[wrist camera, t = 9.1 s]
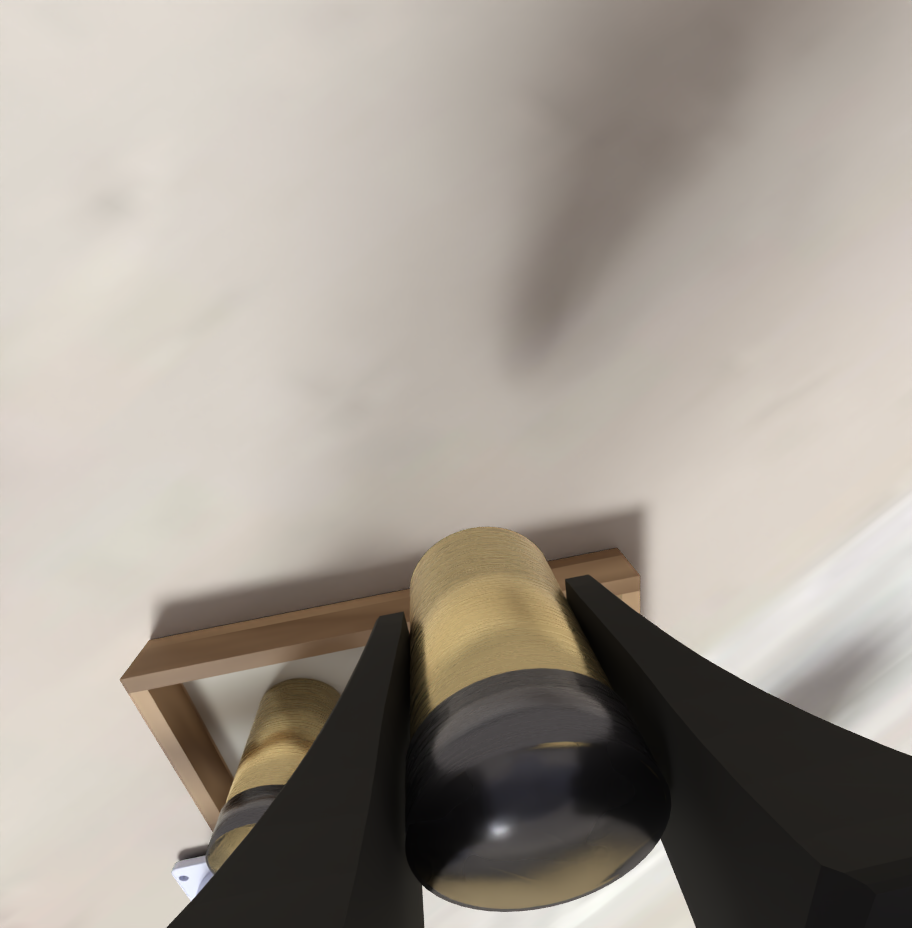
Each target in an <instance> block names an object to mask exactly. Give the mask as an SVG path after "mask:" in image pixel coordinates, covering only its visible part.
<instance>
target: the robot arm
mask: <svg viewBox="0 0 912 928" xmlns="http://www.w3.org/2000/svg"><path fill="white" fill-rule="evenodd" d="M565 587H566V599H567V601H568V603H569V605H570V607H571V609H572V611H573V613H574V615H575V617H576V619H577V621H578V623H579V625H580V627H581V629H582V630H583V632H584V634H585V636H586V638H587V640H588V642H589V644H590V646H591V648H592V650H593V652H594V654H595V656H596V658H597V660H598V661H599V663H600V665H601V667H602V669H603V671H604V673H605V675H606V677H607V679H608V681H609V683H610V685H611V687H612V689H613V690H614V692H615V693H616V694H618V695H619V697H620V698H621V699H622V700H623V702H624V703H625V704H626V706H627V708H628V710H629V712H630V713H631V715H632V717H633V719H634V721H635V723H636V725H637V727H638V729H639V731H640V732H641V734H642V736H643V738H644V740H645V742H646V744H647V746H648V748H649V749H650V751H651V753H652V755H653V757H654V759H655V761H656V763H657V765H658V766H659V768H660V770H661V772H662V774H663V776H664V778H665V780H666V782H667V783H668V787H669V790H670V794H671V812H670V817H669V820H668V824H667V827H666V829H665V831H664V833H663V835H662V837H661V841H662V843H663V846H664V848H665V851H666V853H667V856H668V858H669V861H670V863H671V866H672V868H673V870H674V873H675V875H676V878H677V880H678V883H679V885H680V888H681V890H682V893H683V895H684V898H685V900H686V903H687V905H688V908H689V911H690V913H691V916H692V918H693V921H694V923H695V926H696V928H912V756H910V755H908V754H905V753H902V752H899V751H897V750H894V749H892V748H889V747H887V746H884V745H882V744H879V743H877V742H874V741H872V740H870V739H867V738H865V737H862V736H860V735H858V734H855V733H853V732H851V731H848V730H846V729H843V728H841V727H839V726H836V725H834V724H832V723H830V722H827V721H825V720H823V719H821V718H818V717H816V716H814V715H812V714H810V713H807V712H805V711H803V710H801V709H799V708H797V707H795V706H793V705H791V704H789V703H787V702H785V701H783V700H781V699H779V698H777V697H774V696H772V695H770V694H768V693H766V692H764V691H763V690H761V689H759V688H757V687H755V686H753V685H751V684H749V683H747V682H745V681H744V680H742V679H740V678H738V677H737V676H735V675H733V674H731V673H729V672H728V671H726V670H724V669H722V668H721V667H719V666H717V665H715V664H714V663H712V662H710V661H709V660H707V659H705V658H704V657H702V656H700V655H699V654H697V653H696V652H694V651H692V650H691V649H689V648H688V647H686V646H685V645H683V644H682V643H680V642H679V641H677V640H676V639H674V638H673V637H671V636H670V635H668V634H667V633H665V632H664V631H663V630H661V629H660V628H658V627H657V626H656V625H654V624H653V623H652V622H650V621H649V620H647V619H646V618H645V617H643V616H642V615H640V614H639V613H638V612H636V611H635V610H634V609H632V608H631V607H630V606H629V605H627V604H626V603H625V602H623V601H622V600H621V599H620V598H618V597H617V596H616V595H614V594H613V593H612V592H611V591H609V590H608V589H607V588H606V587H604V586H603V585H602V584H601V583H599V582H598V581H597V580H596V579H594V578H593V577H592V576H590V575H589V574H588V575H583V576H578V577H573V578H568V579H565ZM409 744H410V634H409V630H408V626H407V622H406V618H405V614H404V611H403V612H398V613H393V614H388V615H383V616H379V617H378V619H377V620H376V622H375V624H374V627H373V629H372V632H371V634H370V636H369V639H368V641H367V643H366V646H365V648H364V650H363V652H362V654H361V656H360V659H359V661H358V663H357V665H356V667H355V669H354V671H353V673H352V675H351V677H350V679H349V681H348V683H347V685H346V687H345V689H344V691H343V692H342V694H341V696H340V698H339V700H338V701H337V703H336V705H335V707H334V708H333V710H332V712H331V714H330V715H329V717H328V719H327V721H326V722H325V724H324V726H323V728H322V729H321V731H320V733H319V734H318V736H317V737H316V739H315V741H314V742H313V744H312V745H311V747H310V749H309V750H308V752H307V753H306V755H305V756H304V758H303V759H302V761H301V762H300V764H299V765H298V767H297V768H296V770H295V771H294V773H293V774H292V776H291V777H290V778H289V780H288V781H287V783H286V784H285V785H284V787H283V788H282V789H281V791H280V792H279V794H278V795H277V796H276V798H275V799H274V800H273V802H272V803H271V805H270V806H269V807H268V809H267V810H266V811H265V813H264V814H263V815H262V817H261V818H260V819H259V820H258V822H257V823H256V824H255V826H254V827H253V828H252V829H251V831H250V832H249V833H248V834H247V836H246V837H245V838H244V839H243V840H242V842H241V843H240V844H239V845H238V847H237V848H236V849H235V850H234V851H233V853H232V854H231V855H230V856H229V857H228V859H227V860H226V861H225V862H224V863H223V865H222V866H221V867H220V868H219V869H218V871H217V872H216V873H215V874H213V873H212V872H211V871H210V870H209V868H208V866H207V863H206V858H205V857H206V855H204V856H199V857H195V858H190V859H185V860H181V861H178V862H176V863H175V865H174V867H173V869H172V875H173V876H174V878H175V879H176V881H177V882H178V883H179V885H180V886H181V888H182V889H183V891H184V892H185V893H186V895H187V896H188V898H189V899H190V900H191V902H190V903H189V904H188V905H187V906H186V907H185V908H184V910H183V911H182V912H181V913H180V914H179V915H178V916H177V917H176V918H175V919H174V920H173V921H172V922H171V923H170V924H169V926H168V927H167V928H424V913H423V895H422V884H421V883H420V882H419V881H418V880H417V879H416V877H415V876H414V875H413V873H412V871H411V869H410V867H409V865H408V863H407V858H406V854H405V768H406V755H407V750H408V747H409Z"/></svg>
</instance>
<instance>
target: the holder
mask: <svg viewBox="0 0 912 928" xmlns="http://www.w3.org/2000/svg"><path fill="white" fill-rule="evenodd" d="M547 563H548V565H549V567H550V568H551V570H552V572H553V574H554V576H555V578H556V580H557V582H558V584H559V586H560V588H561V590H562V592H563V594H564V596H565V598H566V587H565V579H568V578H573V577H578V576H583V575H588V574H589V575H590V576H592V577H593V578H594V579H596V580H597V581H598V582H599V583H601V584H602V585H603V586H604V587H606V588H607V589H608V590H609V591H611V592H612V593H613V594H614V595H616V596H617V597H618V598H620V599H621V600H622V601H623V602H625V603H626V604H627V605H629V606H630V607H631V608H632V609H634V610H635V611H636V612H638V613H639V614H640V575H639V574H638V572H637V571H636V570H635V569H634V568H633V566H632V565H631V564H630V563H629V561H628V560H627V559H626V558H625V557H624V555H623V554H622V553H621V552H620V551H619V549H618V548H614V549H609V550H604V551H599V552H593V553H588V554H583V555H578V556H573V557H568V558H563V559H558V560H553V561H548V562H547ZM403 611H404V614H405V618H406V622H407V626H408V630H409V634H410V589H406V590H401V591H396V592H391V593H386V594H381V595H376V596H371V597H365V598H360V599H355V600H350V601H345V602H340V603H335V604H330V605H325V606H320V607H315V608H310V609H305V610H300V611H295V612H289V613H284V614H279V615H274V616H269V617H264V618H259V619H254V620H249V621H244V622H239V623H234V624H229V625H224V626H219V627H213V628H208V629H203V630H198V631H193V632H188V633H183V634H178V635H173V636H168V637H163V638H158V639H153V640H149V641H148V642H147V644H146V645H145V646H144V648H143V649H142V650H141V652H140V653H139V654H138V656H137V657H136V658H135V660H134V661H133V662H132V664H131V665H130V667H129V668H128V669H127V671H126V672H125V673H124V675H123V676H122V677H121V679H120V681H121V683H122V684H123V686H124V688H125V689H126V691H127V693H128V694H129V696H130V698H131V699H132V701H133V702H134V704H135V706H136V707H137V709H138V711H139V712H140V714H141V716H142V717H143V719H144V720H145V722H146V724H147V725H148V727H149V729H150V730H151V732H152V733H153V735H154V737H155V738H156V740H157V742H158V743H159V745H160V747H161V748H162V750H163V751H164V753H165V755H166V756H167V758H168V760H169V761H170V763H171V765H172V766H173V768H174V769H175V771H176V773H177V774H178V776H179V778H180V779H181V781H182V783H183V784H184V786H185V787H186V789H187V791H188V792H189V794H190V796H191V797H192V799H193V801H194V802H195V804H196V805H197V807H198V809H199V810H200V812H201V814H202V815H203V817H204V819H205V820H206V822H207V823H208V825H209V827H210V828H211V830H212V832H213V831H214V828H215V825H216V823H217V820H218V817H219V814H220V811H221V809H222V808H223V806H224V805H225V803H226V800H227V797H228V794H229V792H230V789H231V786H232V783H233V780H234V777H235V774H236V771H237V768H238V765H239V763H240V760H241V757H242V754H243V751H244V748H245V745H246V742H247V739H248V736H249V733H250V731H251V728H252V725H253V722H254V719H255V716H256V713H257V710H258V707H259V704H260V702H261V699H262V697H263V696H264V694H265V693H266V692H267V691H268V690H269V689H270V688H272V687H273V686H275V685H277V684H278V683H281V682H283V681H287V680H291V679H313V680H318V681H321V682H324V683H326V684H328V685H330V686H331V687H333V688H334V689H335V690H336V691H337V692H338V693H339V694H340V695H341V694H342V692H343V691H344V689H345V687H346V685H347V683H348V681H349V679H350V677H351V675H352V673H353V671H354V669H355V667H356V665H357V663H358V661H359V659H360V656H361V654H362V652H363V650H364V648H365V646H366V643H367V641H368V639H369V636H370V634H371V632H372V629H373V627H374V624H375V622H376V620H377V619H378V617H379V616H383V615H388V614H393V613H398V612H403Z"/></svg>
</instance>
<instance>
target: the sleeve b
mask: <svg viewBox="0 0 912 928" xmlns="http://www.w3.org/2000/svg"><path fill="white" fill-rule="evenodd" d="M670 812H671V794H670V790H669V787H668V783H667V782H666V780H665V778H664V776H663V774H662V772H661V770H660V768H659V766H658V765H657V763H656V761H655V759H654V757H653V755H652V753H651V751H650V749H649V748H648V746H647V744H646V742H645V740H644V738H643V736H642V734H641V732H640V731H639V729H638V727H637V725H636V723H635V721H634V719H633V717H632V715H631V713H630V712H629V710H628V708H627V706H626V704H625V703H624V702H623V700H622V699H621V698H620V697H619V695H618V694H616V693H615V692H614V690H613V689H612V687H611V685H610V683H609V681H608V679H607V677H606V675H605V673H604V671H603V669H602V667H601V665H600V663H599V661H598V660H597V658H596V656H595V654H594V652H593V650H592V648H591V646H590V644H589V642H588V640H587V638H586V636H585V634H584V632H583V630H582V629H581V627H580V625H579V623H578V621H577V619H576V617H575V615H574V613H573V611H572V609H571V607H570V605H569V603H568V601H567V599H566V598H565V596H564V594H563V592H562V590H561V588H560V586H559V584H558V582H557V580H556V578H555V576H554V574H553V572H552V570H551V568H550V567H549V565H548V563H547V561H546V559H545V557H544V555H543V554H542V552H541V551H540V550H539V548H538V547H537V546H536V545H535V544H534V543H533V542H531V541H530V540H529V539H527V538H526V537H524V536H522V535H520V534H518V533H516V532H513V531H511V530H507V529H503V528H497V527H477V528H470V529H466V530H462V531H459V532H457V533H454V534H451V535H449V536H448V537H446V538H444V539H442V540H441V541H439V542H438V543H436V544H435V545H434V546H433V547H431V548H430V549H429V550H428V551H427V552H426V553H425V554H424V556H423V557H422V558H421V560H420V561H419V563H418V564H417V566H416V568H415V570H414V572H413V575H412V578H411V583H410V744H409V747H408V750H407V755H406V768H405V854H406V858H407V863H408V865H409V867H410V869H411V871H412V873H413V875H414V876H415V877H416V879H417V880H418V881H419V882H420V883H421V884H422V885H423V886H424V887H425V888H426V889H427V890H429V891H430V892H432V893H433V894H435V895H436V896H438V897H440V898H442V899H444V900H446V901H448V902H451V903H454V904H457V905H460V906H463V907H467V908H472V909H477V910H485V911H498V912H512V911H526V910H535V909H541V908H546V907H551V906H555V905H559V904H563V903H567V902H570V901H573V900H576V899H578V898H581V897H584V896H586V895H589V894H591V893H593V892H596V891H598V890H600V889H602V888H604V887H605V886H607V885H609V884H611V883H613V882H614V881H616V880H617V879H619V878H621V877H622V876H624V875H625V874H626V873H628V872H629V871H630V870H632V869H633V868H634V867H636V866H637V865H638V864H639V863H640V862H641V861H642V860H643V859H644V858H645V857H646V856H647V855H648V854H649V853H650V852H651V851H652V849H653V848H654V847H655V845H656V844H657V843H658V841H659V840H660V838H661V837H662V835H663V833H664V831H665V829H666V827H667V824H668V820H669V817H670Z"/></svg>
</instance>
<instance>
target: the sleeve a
mask: <svg viewBox="0 0 912 928" xmlns="http://www.w3.org/2000/svg"><path fill="white" fill-rule="evenodd" d="M340 696H341V695H340V694H339V693H338V692H337V691H336V690H335V689H334V688H333V687H331V686H330V685H328V684H326V683H324V682H321V681H318V680H313V679H291V680H287V681H283V682H281V683H278V684H277V685H275V686H273V687H272V688H270V689H269V690H268V691H267V692H266V693H265V694H264V696H263V697H262V699H261V702H260V704H259V707H258V710H257V713H256V716H255V719H254V722H253V725H252V728H251V731H250V733H249V736H248V739H247V742H246V745H245V748H244V751H243V754H242V757H241V760H240V763H239V765H238V768H237V771H236V774H235V777H234V780H233V783H232V786H231V789H230V792H229V794H228V797H227V800H226V803H225V805H224V806H223V808H222V809H221V811H220V814H219V817H218V820H217V823H216V825H215V828H214V831H213V834H212V837H211V840H210V843H209V846H208V848H207V851H206V857H205V858H206V863H207V866H208V868H209V870H210V871H211V872H212V873H213V874H215V873H216V872H217V871H218V869H219V868H220V867H221V866H222V865H223V863H224V862H225V861H226V860H227V859H228V857H229V856H230V855H231V854H232V853H233V851H234V850H235V849H236V848H237V847H238V845H239V844H240V843H241V842H242V840H243V839H244V838H245V837H246V836H247V834H248V833H249V832H250V831H251V829H252V828H253V827H254V826H255V824H256V823H257V822H258V820H259V819H260V818H261V817H262V815H263V814H264V813H265V811H266V810H267V809H268V807H269V806H270V805H271V803H272V802H273V800H274V799H275V798H276V796H277V795H278V794H279V792H280V791H281V789H282V788H283V787H284V785H285V784H286V783H287V781H288V780H289V778H290V777H291V776H292V774H293V773H294V771H295V770H296V768H297V767H298V765H299V764H300V762H301V761H302V759H303V758H304V756H305V755H306V753H307V752H308V750H309V749H310V747H311V745H312V744H313V742H314V741H315V739H316V737H317V736H318V734H319V733H320V731H321V729H322V728H323V726H324V724H325V722H326V721H327V719H328V717H329V715H330V714H331V712H332V710H333V708H334V707H335V705H336V703H337V701H338V700H339V698H340Z"/></svg>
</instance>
